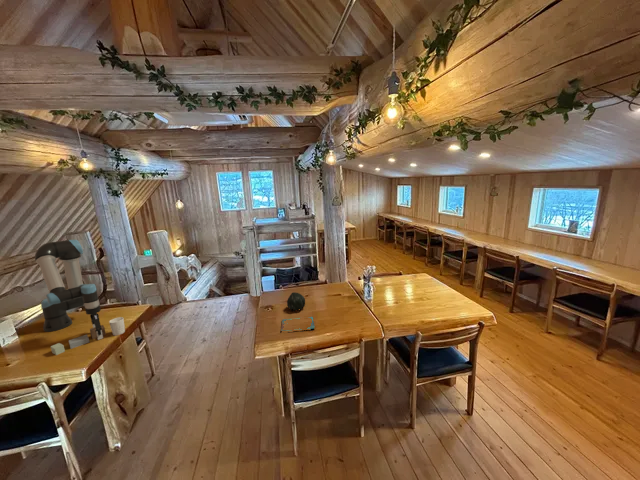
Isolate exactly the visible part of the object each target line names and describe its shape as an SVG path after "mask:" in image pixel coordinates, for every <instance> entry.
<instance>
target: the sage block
mask: <svg viewBox="0 0 640 480" xmlns="http://www.w3.org/2000/svg"><path fill="white" fill-rule="evenodd" d="M50 349H51V351H50V352H51V353H52V354H53V355H55V356H58V355H60V354H62V353H63V354H64V353H65V352H66V350H65V346H64V344H62V343H60V342H58V343H56V344H53V345H51V346H50Z"/></svg>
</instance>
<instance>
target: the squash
mask: <svg viewBox="0 0 640 480" xmlns="http://www.w3.org/2000/svg"><path fill="white" fill-rule="evenodd" d="M286 305H287V307H288V309H289V308H290V309H289V310H291V311H295V310H297V311H299V310H298V309H301V310H302V309H303V308H304V307H306V306H305V305H306V299H305V296H304V295H302V293H300V292H291V293H290V295H289V296H288V298H287V301H286ZM302 307H303V308H302ZM292 309H294V310H292Z"/></svg>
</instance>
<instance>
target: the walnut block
mask: <svg viewBox="0 0 640 480" xmlns="http://www.w3.org/2000/svg"><path fill="white" fill-rule="evenodd" d="M100 325H101V328H102V335H103V337H104V336H107V333H106V328H105V326H104V325H103V324H100ZM98 329H99V328H98ZM95 330H96V328H95V327H94V328H93V327H91V328H89V333H90V336H91V339H92V340H95V339H98V338H97V333H96V332H95Z"/></svg>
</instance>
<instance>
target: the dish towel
mask: <svg viewBox="0 0 640 480" xmlns="http://www.w3.org/2000/svg"><path fill="white" fill-rule="evenodd" d="M300 318H301V317H298V318H297V317H296V318H295V319H300ZM309 318H311V319H312V323H311V326H310V327H308V328H307V329H314V328H315V322H314V321H315V320H314V321H313V319H314V317H313V316H310V317H309ZM292 319H293V318H285V319H284V318H282V319H281V325H282V326H281V325H280V327H281V328H280V332H281V331H292V330H283V328H284V326H283V325H284V324H285V323H284V321H286V320H292ZM287 324H288V323H287ZM315 329H316V328H315ZM294 330H302V329H300V328H299V329H294Z"/></svg>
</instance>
